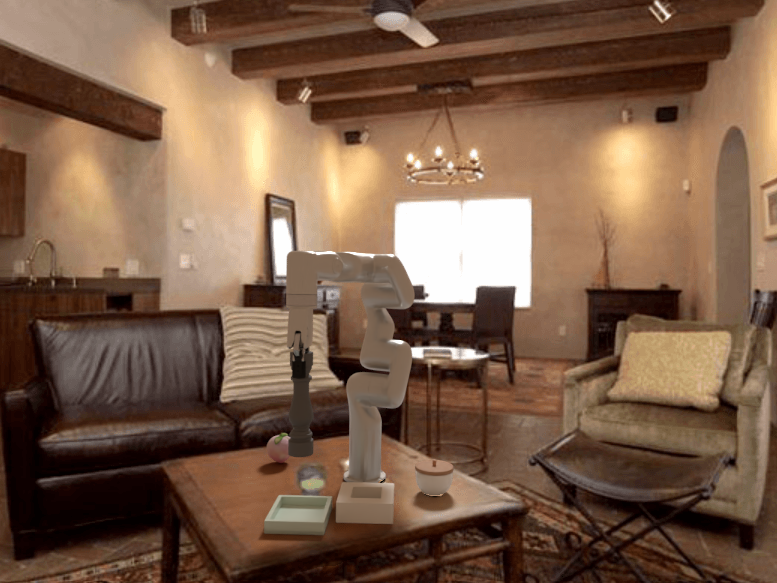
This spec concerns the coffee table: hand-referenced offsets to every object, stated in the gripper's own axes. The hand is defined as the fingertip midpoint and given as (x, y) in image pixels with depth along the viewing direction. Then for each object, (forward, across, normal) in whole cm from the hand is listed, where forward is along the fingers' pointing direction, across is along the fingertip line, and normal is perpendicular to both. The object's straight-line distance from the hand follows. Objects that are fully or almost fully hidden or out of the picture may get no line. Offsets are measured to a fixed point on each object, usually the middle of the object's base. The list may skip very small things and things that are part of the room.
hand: (301, 374), depth 144 cm
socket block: (+36, -6, +16) cm, 40 cm away
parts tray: (+36, 0, 0) cm, 36 cm away
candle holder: (+20, 0, 0) cm, 20 cm away
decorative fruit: (+36, -42, -14) cm, 57 cm away
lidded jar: (+36, -20, +34) cm, 54 cm away
